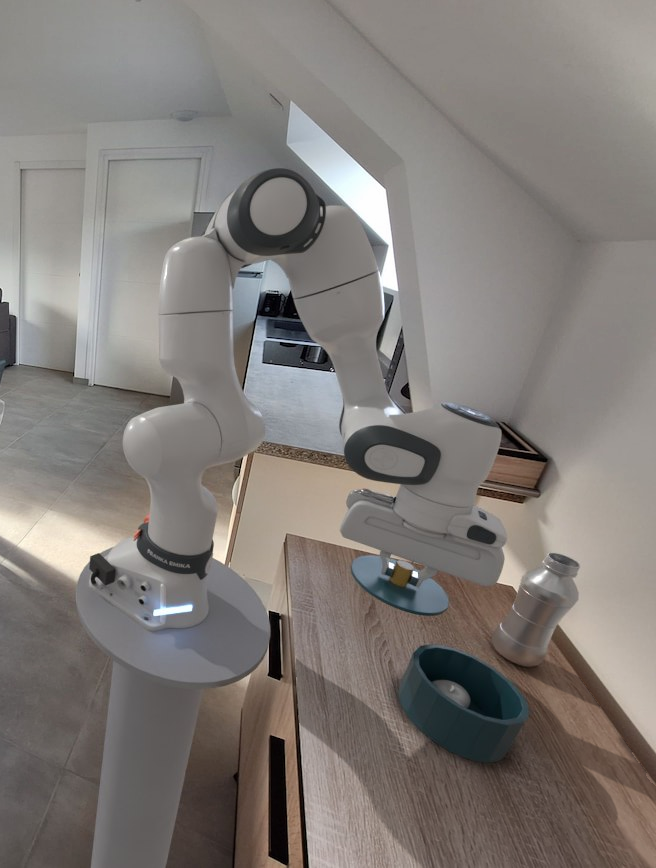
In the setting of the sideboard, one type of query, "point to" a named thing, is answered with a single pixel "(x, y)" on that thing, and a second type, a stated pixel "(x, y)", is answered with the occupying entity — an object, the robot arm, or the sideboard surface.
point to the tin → (454, 724)
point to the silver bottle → (537, 610)
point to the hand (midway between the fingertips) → (399, 578)
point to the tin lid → (399, 586)
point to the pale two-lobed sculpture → (453, 692)
